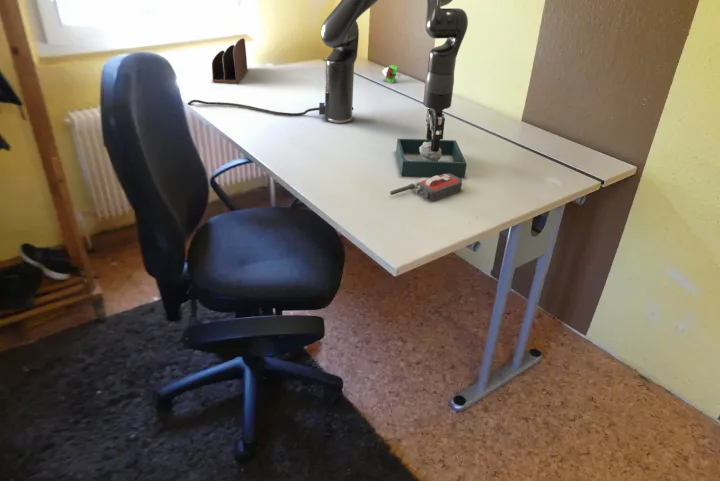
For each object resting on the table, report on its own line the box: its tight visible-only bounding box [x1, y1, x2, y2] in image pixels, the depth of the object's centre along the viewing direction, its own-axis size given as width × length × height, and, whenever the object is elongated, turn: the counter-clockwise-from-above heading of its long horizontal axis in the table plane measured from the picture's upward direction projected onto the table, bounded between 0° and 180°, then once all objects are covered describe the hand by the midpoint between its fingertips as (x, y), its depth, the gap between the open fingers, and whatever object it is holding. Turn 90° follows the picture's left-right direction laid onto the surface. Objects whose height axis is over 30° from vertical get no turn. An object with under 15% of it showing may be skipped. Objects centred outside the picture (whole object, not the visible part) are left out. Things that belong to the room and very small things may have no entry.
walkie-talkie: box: [389, 173, 463, 202], centre depth 142 cm, size 9×4×20 cm
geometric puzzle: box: [381, 64, 401, 84], centre depth 227 cm, size 7×7×8 cm
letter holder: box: [211, 37, 248, 84], centre depth 220 cm, size 10×20×14 cm, turn 179°
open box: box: [395, 138, 468, 179], centre depth 157 cm, size 18×17×4 cm
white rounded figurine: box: [419, 142, 442, 161], centre depth 157 cm, size 6×7×7 cm
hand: (432, 145), depth 155 cm, fingers open, 8 cm apart
